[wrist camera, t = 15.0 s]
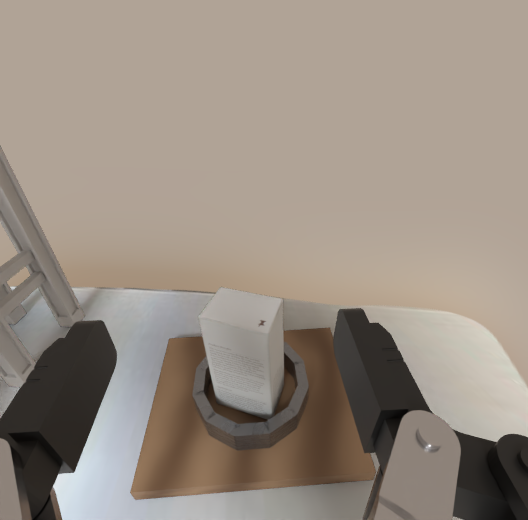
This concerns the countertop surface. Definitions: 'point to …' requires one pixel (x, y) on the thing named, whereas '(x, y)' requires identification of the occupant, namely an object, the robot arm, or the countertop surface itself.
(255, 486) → the walnut base
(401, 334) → the countertop surface
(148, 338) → the countertop surface
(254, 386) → the skincare box
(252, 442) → the ring collar
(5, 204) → the stool
